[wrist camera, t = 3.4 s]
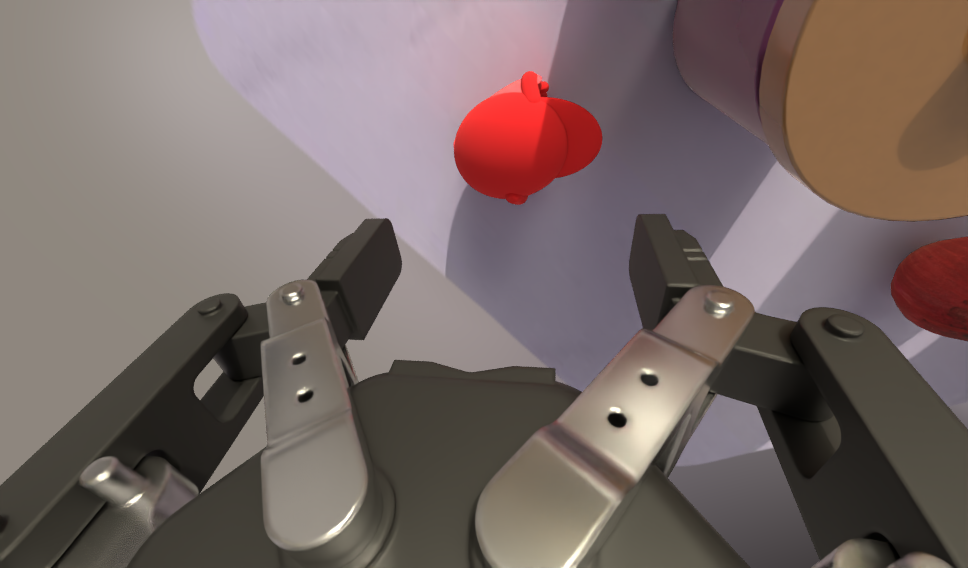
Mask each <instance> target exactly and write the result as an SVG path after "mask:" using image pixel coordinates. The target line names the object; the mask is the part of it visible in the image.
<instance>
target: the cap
mask: <svg viewBox="0 0 968 568" xmlns="http://www.w3.org/2000/svg"><path fill="white" fill-rule="evenodd" d="M541 80H542V77H541V76H539V75H537V74H536V73H534V72H530V71H529V72H526V73H525V74H524V75H523V76H522V79H520V80H517V81H515V82H513V83H511V84H510V85H508V86H506V87H505V88H503V89H501V90H500V91H498V92H497V93H495V94H494V95H493V96H491V97H490V98H488V99H486V100H484V101H483V102H481V103H480V104H478V105H477V106H476V107H474V108H473V109H472V110H471V111H470V112H469V113H468V115H467V116H466V117H465V118H464V120H463V122H462V123H461V125H460V127H459V129H458V132H457V134H456V138H455V141H454V157H455V162H456V165H457V168H458V170H459V172H460V174H461V176H462V177H463V179H464V180H465V181H466V182H467V183H468V184H469V185H470V186H471V187H472V188H474V189H475V190H477V191H478V192H480V193H482V194H484V195H487V196H490V197H494V198H499V199H506V200H507V201H508V202H509V203H512V204H516V205H521V204H523V203H525V201H526V200H527V198H528V195H531V194H533V193H535V192H537V191H539V190H541V189H543V188H544V187H546V186H547V185H548V184H549V183H551V182H552V181H553V180H554V179H555V178H559V177H564V176H567V175H570V174H573V173H575V172H578V171H580V170H581V169H583V168H584V167H586V166H587V165H589V164H590V163H591V162H592V161H593V160H594V159H595V157H596V156H597V154H598V153H599V151H600V148H601V145H602V131H601V128H600V126H599V124H598V122H597V120H596V119H595V118H594V117H593V115H592V114H591V113H589V112H588V111H587V110H586V109H584V108H583V107H581V106H579V105H577V104H575V103H572V102H570V101H567V100H563V99H558V98H550V97H547V93H546V92H547V91H548V89H549V85H548V83H546V82H541Z"/></svg>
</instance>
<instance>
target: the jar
mask: <svg viewBox="0 0 968 568" xmlns="http://www.w3.org/2000/svg"><path fill="white" fill-rule="evenodd" d="M673 49H674V56H675V60H676V63H677V67H678V69H679V71H680V74H681V76H682V78H683V79H684V81H685V82H686V84H687V85H688V86H689V87H690V88H691V89H692V90H693V91H694V92H695V93H696V94H697V95H699V96H700V97H701V98H703V99H704V100H706V101H707V102H708V103H710V104H711V105H713V106H714V107H715V108H717V109H718V110H720V111H721V112H722V113H724V114H725V115H727V116H728V117H729V118H731V119H732V120H734V121H735V122H736V123H738V124H739V125H741V126H742V127H743V128H745V129H746V130H748V131H749V132H751V133H752V134H753V135H755V136H756V137H758V138H759V139H760V140H762V141H763V142H765V143H766V144H767V145H769V148H770V149H771V151H772V153H773V154H774V156H775V157H776V159H777V161H778V162H779V164H780V165H781V166H782V167H783V168H784V169H785V170H786V171H787V172H788V173H789V174H790V175H791V176H792V177H794V178H795V179H796V180H797V181H799V182H800V183H801V184H803V185H804V186H805V187H807V188H808V189H809V190H810V191H812V192H813V193H814V194H816V195H817V196H819V197H820V198H821V199H823V200H824V201H826V202H827V203H829V204H831V205H833V206H835V207H837V208H839V209H842V210H844V211H846V212H850V213H853V214H856V215H860V216H863V217H868V218H875V219H881V220H888V221H929V220H942V219H949V218H956V217H963V216H968V0H678V3H677V7H676V12H675V16H674V24H673Z"/></svg>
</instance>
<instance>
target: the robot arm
mask: <svg viewBox="0 0 968 568" xmlns="http://www.w3.org/2000/svg"><path fill="white" fill-rule="evenodd" d="M401 268H402V260H401V255H400V251H399V248H398V244H397V241H396V237H395V233H394V230H393V226H392V223H391V221H390V220H389V219H387V218H385V219H365V220H364V221H363V222H362V224H361V225H360V226H359V227H358V228H357V230H356V231H355V232H354V233H352V234H350V235H349V236H347V237H346V238H344V239H343V240H341V241H340V242H339V243H338V244H337V245H336V246H335V248H334V249H333V251H332V252H330V253H329V254H328V256H327V257H326V259H324V260H323V261H322V263H321V264H320V265H319V266H318V267H317V268H316V269H315V271H314V272H313V273H312V274H311V275H310V276H309V278H308V279H307V280H297V281H293V282H289V283H287V284H285V285H283V286H281V287H279V288H277V289H276V290H275V291H273V292H272V293H271V294H270V295H269V297H268V299H267V301H266V303H261V304H256V305H251V306H246V307H244V306H243V305H242V303H241V301H240V299H239V298H238V297H237V296H236V295H234V294H229V293H228V294H219V295H215V296H212V297H209V298H207V299H205V300H203V301H201V302H199V303H197V304H196V305H194V306H193V307H192V308H190V309H189V310H188V311H187V312H186V313H185V314H184V315H183V316H182V317H181V318H180V319H179V320H178V321H176V322H175V323H174V324H173V325H172V326H171V327H170V328H169V329H168V330H167V331H166V332H165V333H164V334H162V335H161V336H160V337H159V338H158V339H157V340H156V341H155V342H154V343H153V344H152V345H151V346H150V347H148V348H147V349H146V350H145V351H144V352H143V353H142V354H141V355H140V356H139V357H138V358H137V359H136V360H135V361H133V362H132V363H131V364H130V365H129V366H128V367H127V368H126V369H125V370H124V371H123V372H122V373H121V374H120V375H118V376H117V377H116V378H115V379H114V380H113V381H112V382H111V383H110V384H109V385H108V386H107V387H106V388H105V389H103V390H102V391H101V392H100V393H99V394H98V395H97V396H96V397H95V398H94V399H93V400H92V401H91V402H90V403H89V404H88V405H86V406H85V407H84V408H83V409H82V410H81V411H80V412H79V413H78V414H77V415H76V416H75V417H73V418H72V419H71V420H70V421H69V422H68V423H67V424H66V425H65V426H64V427H63V428H62V429H61V430H60V431H58V432H57V433H56V434H55V435H54V436H53V437H52V438H51V439H50V440H49V441H48V442H47V443H46V444H45V445H43V446H42V447H41V448H40V449H39V450H38V451H37V452H36V453H35V454H34V455H33V456H32V457H31V458H30V459H28V460H27V461H26V462H25V463H24V464H23V465H22V466H21V467H20V468H19V469H18V470H17V471H16V472H15V473H14V474H13V475H12V476H10V477H9V478H8V479H7V480H6V481H5V482H4V483H3V484H2V485H1V486H0V568H750V567H749V565H748V564H747V563H746V562H745V561H744V560H743V559H742V558H741V557H740V556H739V555H738V554H737V553H736V552H735V550H734V549H733V548H732V547H731V546H730V545H729V544H728V543H727V542H726V541H725V540H724V538H722V536H721V535H720V534H719V533H718V532H717V531H716V530H715V529H714V528H713V527H712V526H711V525H710V523H709V522H708V521H707V520H706V519H705V518H704V517H703V516H702V515H701V514H700V513H699V512H698V510H697V509H696V508H695V507H694V506H693V505H692V504H691V503H690V502H689V501H688V500H687V499H686V497H685V496H684V495H683V494H682V493H681V492H680V491H679V490H678V489H677V488H676V487H675V486H674V484H673V483H672V482H671V481H670V480H669V479H668V477H669V475H670V473H671V472H672V470H673V468H674V466H675V465H676V463H677V461H678V459H679V457H680V455H681V453H682V451H683V449H684V448H685V446H686V444H687V442H688V441H689V439H690V437H691V436H692V434H693V433H694V431H695V429H696V428H697V426H698V425H699V423H700V421H701V420H702V418H703V417H704V415H705V413H706V412H707V410H708V409H709V407H710V405H711V404H712V402H713V401H714V399H715V397H716V396H717V394H720V395H723V396H726V397H730V398H733V399H736V400H739V401H743V402H746V403H749V404H752V405H756V406H757V408H758V410H759V413H760V415H761V418H762V420H763V423H764V425H765V427H766V430H767V432H768V435H769V437H770V440H771V442H772V445H773V447H774V449H775V452H776V454H777V457H778V459H779V461H780V464H781V466H782V469H783V471H784V474H785V476H786V478H787V481H788V484H789V486H790V488H791V491H792V493H793V496H794V498H795V501H796V503H797V505H798V508H799V510H800V513H801V515H802V517H803V520H804V522H805V525H806V527H807V530H808V532H809V535H810V537H811V540H812V542H813V544H814V547H815V549H816V552H817V554H818V557H819V559H820V561H819V562H818V563H817V564H815V565H814V566H813V567H812V568H968V429H967V428H966V427H965V426H964V425H963V423H962V422H961V421H960V420H959V419H958V418H957V417H956V415H955V414H954V413H953V412H952V411H951V410H950V408H949V407H948V406H947V405H946V404H945V403H944V401H943V400H942V399H941V398H940V397H939V396H938V395H937V393H936V392H935V391H934V390H933V389H932V388H931V386H930V385H929V384H928V383H927V382H926V381H925V380H924V378H923V377H922V376H921V375H920V374H919V373H918V371H917V370H916V369H915V368H914V367H913V366H912V365H911V363H910V362H909V361H908V360H907V359H906V358H905V356H904V355H903V354H902V353H901V352H900V351H899V350H898V348H897V347H896V346H895V345H894V344H893V343H892V341H891V340H890V339H889V338H888V337H887V336H886V335H885V333H884V332H883V331H882V330H881V329H880V328H878V327H877V326H876V325H875V324H873V323H872V322H870V321H868V320H866V319H864V318H863V317H860V316H858V315H856V314H853V313H850V312H847V311H844V310H840V309H834V308H826V307H819V308H812V309H808V310H806V311H805V312H803V313H802V315H801V316H800V318H799V320H798V322H794V321H789V320H785V319H780V318H775V317H771V316H766V315H762V314H759V313H756V312H754V307H753V305H752V303H751V302H750V301H749V300H748V299H747V298H746V297H745V296H743V295H742V294H740V293H738V292H736V291H734V290H732V289H729V288H726V287H723V285H722V283H721V282H720V280H719V278H718V276H717V275H716V273H715V271H714V269H713V268H712V266H711V264H710V262H709V261H708V260H707V257H706V255H705V254H704V252H702V248H701V247H700V245H699V243H698V241H697V240H696V239H695V238H694V237H693V236H691V235H690V234H688V233H687V232H685V231H684V230H673V228H672V226H671V224H670V222H669V220H668V218H667V216H666V215H665V214H639V215H638V216H637V219H636V223H635V229H634V235H633V241H632V247H631V253H630V260H629V275H630V280H631V283H632V287H633V291H634V295H635V299H636V302H637V306H638V310H639V314H640V318H641V321H642V325H643V328H642V329H641V330H639V331H638V332H637V333H636V335H635V336H634V337H633V338H632V339H631V340H630V341H629V342H628V343H627V344H626V345H625V346H624V348H623V349H622V350H621V351H620V352H619V353H618V354H617V355H616V356H615V357H614V358H613V359H612V361H611V362H610V363H609V364H608V365H607V366H606V367H605V368H604V369H603V370H602V371H601V372H600V373H599V375H598V376H597V377H596V378H595V379H594V380H593V381H592V382H591V383H590V384H589V385H588V386H587V388H586V389H585V390H584V391H583V392H581V391H579V390H577V389H575V388H573V387H571V386H568V385H566V384H563V383H559V382H556V381H555V368H537V367H520V366H512V367H505V368H499V369H492V370H485V371H479V372H465V371H462V370H458V369H455V368H451V367H448V366H444V365H441V364H437V363H434V362H426V361H406V360H394V362H393V364H392V367H391V369H390V371H389V372H388V373H383V374H379V375H375V376H373V377H370V378H367V379H365V380H363V381H361V382H359V381H358V378H357V376H356V373H355V370H354V367H353V364H352V361H351V358H350V355H349V352H348V350H347V348H346V345H345V344H346V342H347V341H348V339H352V340H364V339H365V337H366V335H367V333H368V331H369V330H370V328H371V326H372V324H373V322H374V321H375V319H376V317H377V315H378V313H379V311H380V309H381V308H382V306H383V304H384V302H385V301H386V299H387V297H388V295H389V293H390V291H391V290H392V288H393V286H394V284H395V282H396V281H397V279H398V277H399V275H400V273H401ZM212 359H214V360H215V361H216V362H217V364H218V365H219V366H220V367H221V369H222V370H223V371H224V372H223V373H222V374H221V376H220V377H219V378H218V379H217V380H216V382H215V383H214V384H213V385H212V387H211V388H210V389H209V390H208V392H207V393H206V394H205V395H204V397H203V398H202V399H201V400H199V399H198V398H197V397H196V395H195V393H194V390H193V387H194V382H195V379H196V378H197V376H198V375H199V373H200V372H201V371H202V370H203V369H204V368H205V367H206V365H207V364H208V363H209V362H210V361H211V360H212ZM263 396H264V404H265V418H266V431H267V432H266V433H267V447H265V448H264V449H262V450H261V451H260V452H258V453H257V454H255V455H254V456H253V457H251V458H250V459H249V460H247V461H246V462H244V463H243V464H241V465H240V466H239V467H237V468H236V469H234V470H233V471H232V472H230V473H229V474H227V475H226V476H224V477H223V478H222V479H220V480H219V481H217V482H216V483H215V484H213V485H212V486H210V487H209V488H208V489H206V490H205V491H203V492H202V493H201V494H200V492H201V491H202V489H203V488H204V486H205V485H206V483H207V482H208V480H209V479H210V477H211V476H212V474H213V473H214V471H215V470H216V468H217V466H218V465H219V463H220V462H221V460H222V459H223V457H224V456H225V454H226V452H227V451H228V450H229V448H230V447H231V445H232V444H233V442H234V441H235V439H236V437H237V436H238V434H239V432H240V431H241V430H242V428H243V427H244V425H245V424H246V422H247V420H248V419H249V418H250V416H251V415H252V413H253V411H254V410H255V408H256V407H257V405H258V404H259V402H260V401H261V399H262V398H263Z"/></svg>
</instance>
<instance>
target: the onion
mask: <svg viewBox="0 0 968 568" xmlns="http://www.w3.org/2000/svg"><path fill="white" fill-rule="evenodd" d="M891 295H892V297H893V299H894V301H895V303H896V305H897V307H898V308H899V310H900V311H901V312H902V314H903V315H904V316H905V317H906V318H907V319H908V320H910V321H911V322H913V323H914V324H916V325H917V326H919V327H921V328H923V329H925V330H928V331H930V332H932V333H935V334H938V335H942V336H945V337H949V338H954V339H959V340H964V341H968V237H961V238H955V239H948V240H942V241H937V242H934V243H931V244H928V245H925V246H922V247H920V248H919V249H917V250H915V251H914V252H912V253H910V254H909V255H908V256H907V257H906V258H905V259H904V260H903V261H902V262H901V263H900V264H899V266H898V268H897V270H896V272H895V274H894V277H893V279H892V282H891Z"/></svg>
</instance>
